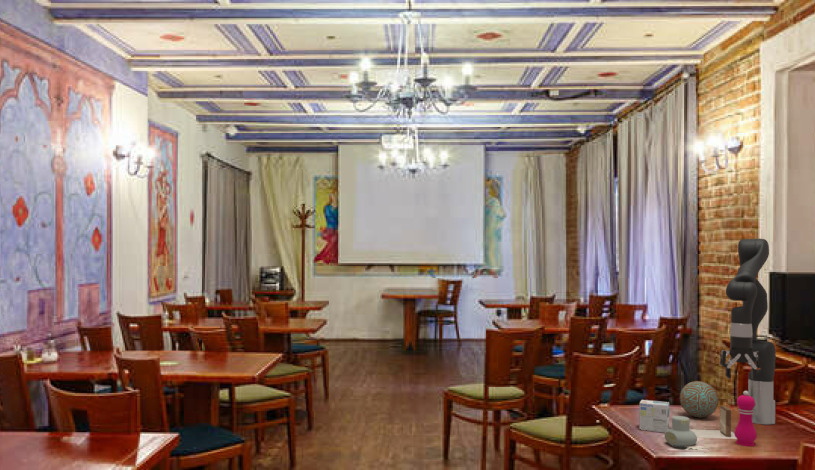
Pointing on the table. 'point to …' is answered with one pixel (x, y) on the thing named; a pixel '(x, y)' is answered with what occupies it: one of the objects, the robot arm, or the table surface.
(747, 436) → the pepper mill
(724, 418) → the wooden block
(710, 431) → the board
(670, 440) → the air freshener
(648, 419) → the light bulb box
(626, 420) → the table surface
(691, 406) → the decorative sphere
